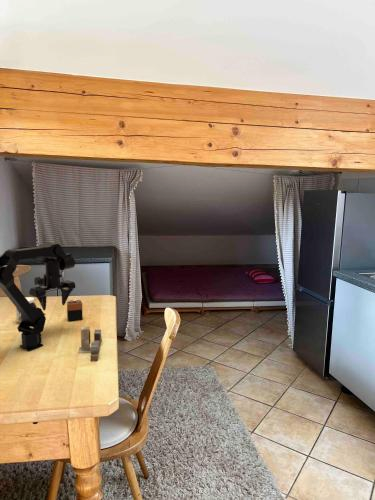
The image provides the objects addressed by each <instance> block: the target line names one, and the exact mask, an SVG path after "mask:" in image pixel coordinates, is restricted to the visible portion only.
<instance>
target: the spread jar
mask: <svg viewBox="0 0 375 500" xmlns="http://www.w3.org/2000/svg"><path fill="white" fill-rule="evenodd" d="M25 298H26V299H27V300H28V302H29V303H30V304H31V306H33V307H37V305H36V302H35V298H34V297H33V296H32V297H30V296H28V297H26V296H25ZM15 312H16V321H17V323H18V325H19V324H20V323H21V321H22V319H21V313H20V311H19V310H18V309H17V308H16V307H15Z"/></svg>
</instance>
